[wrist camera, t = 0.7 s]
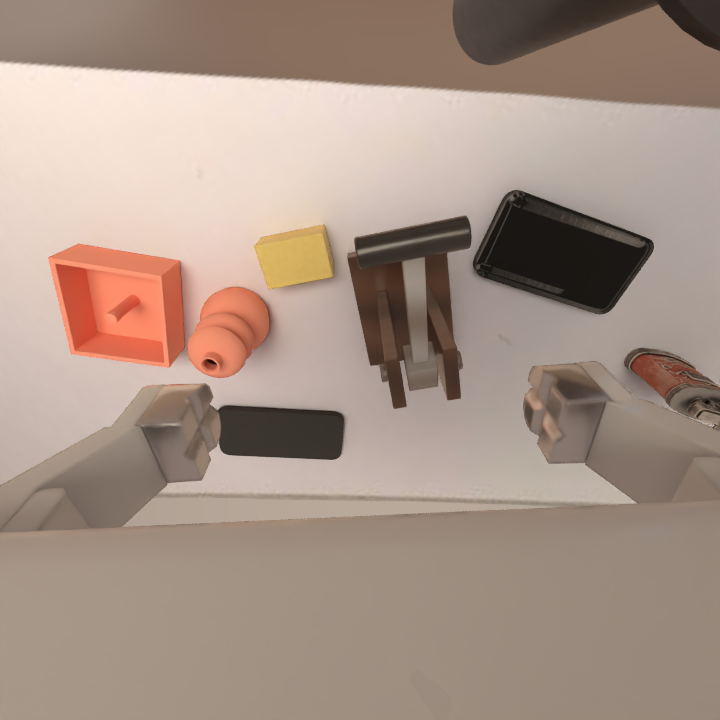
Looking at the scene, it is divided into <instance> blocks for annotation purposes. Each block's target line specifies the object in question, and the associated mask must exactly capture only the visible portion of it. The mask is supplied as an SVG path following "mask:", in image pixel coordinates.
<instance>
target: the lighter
mask: <svg viewBox="0 0 720 720" xmlns="http://www.w3.org/2000/svg"><path fill="white" fill-rule="evenodd" d="M624 363H625V366H626V367H627V368H628V369H629V370H630V371H632V372H633V373H635V374H637V375H639V376H640V377H641V378H642V379H643V380H645V381H646V382H647V383H648V384H649V385H650V386H651V387H652V388H654V389H655V390H656V391H657V392H658V393H659V394H660V395H661V396H662V397H664V398H665V400H666V403H667V404H668V405H669V406H670V407H671V408H673V409H674V410H676V411H678V412H680V413H681V414H683V415H686V416H689V417H691V418H694V419H697V420H702V421H706V422H710V423H713V424H714V425H716V426H718V427H720V387H718V385H717V384H715V383H714V382H713V381H711V380H710V379H709V378H707V377H705V376H703V375H702V374H700V373H699V372H698V371H696V368H695V367H694V366H693V365H691V364H690V363H689V362H687V361H685V360H684V359H682V358H680V357H678V356H676V355H673V354H671V353H668V352H664V351H660V350H655V349H645V348H638V349H636V350H634V351H632V352H631V353H630V354H629V355H628V356H627V357H626V359H625V362H624Z"/></svg>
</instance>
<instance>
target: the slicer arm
mask: <svg viewBox="0 0 720 720" xmlns="http://www.w3.org/2000/svg"><path fill="white" fill-rule="evenodd" d="M354 243H355V250H356V255H357V260H358V265H359V268H360V269H365V268H370V267H376V266H381V265H386V264H391V263H396V262H402V270H403V280H404V289H405V299H406V309H407V318H408V328H409V337H410V345H405V346H402V349H403V356H404V363H405V369H406V375H407V380H408V385H409V390H410V391H412V390H419V389H425V388H431V387H437V386H438V365H437V361H436V357H435V353H434V348H433V344H432V341H429V342H428V332H427V305H426V277H425V257H428V256H433V255H438V254H443V253H448V252H454V251H459V250H464V249H468V248H470V246H471V228H470V223H469V220H468V218H467V216H460V217H455V218H450V219H445V220H440V221H435V222H430V223H425V224H420V225H415V226H410V227H405V228H400V229H395V230H390V231H385V232H380V233H375V234H370V235H365V236H360V237H356V238H355V239H354Z"/></svg>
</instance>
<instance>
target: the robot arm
mask: <svg viewBox="0 0 720 720" xmlns="http://www.w3.org/2000/svg"><path fill="white" fill-rule="evenodd" d="M528 381H529V383H530V384H531V386H532V388H531V389H530V390H529V391H528V392H527V393H526V394H525V398H524V404H523V409H524V417H525V421H526V424H527V426H528V427H529V429H530V431H531V432H533V433H535V434H536V435H538V436H539V439H538V443H537V444H538V446H539V447H540V449H541V451H542V453H543V454H544V456H545V458H546V460H547V462H548V463H549V464H559V463H586V464H585V465H587V466H588V467H589V468H591V469H592V470H593V471H595V472H596V473H597V474H599V475H600V476H601V477H603V478H604V479H605V480H607V481H608V482H610V483H611V484H612V485H614V486H615V487H616V488H618V489H619V490H620V491H622V492H623V493H624V494H626V495H627V496H629V497H630V498H631V499H633V500H634V501H635V502H637V503H638V504H618V505H598V506H577V507H554V508H532V509H509V510H487V511H462V512H441V513H417V514H396V515H374V516H354V517H331V518H310V519H288V520H267V521H244V522H223V523H200V524H178V525H156V526H134V527H122V526H123V525H124V524H125V523H126V522H127V521H129V520H130V519H131V518H132V517H133V516H134V515H135V514H136V513H137V512H138V511H139V510H140V509H141V508H143V507H144V506H145V505H146V504H147V503H148V502H149V501H150V500H151V499H152V498H154V497H155V496H156V495H157V494H158V493H159V492H160V491H161V490H162V489H163V488H164V487H165V486H167V483H173V482H186V481H199V480H202V479H203V477H204V475H205V472H206V470H207V468H208V465H209V463H210V461H211V458H210V456H209V452H210V451H211V450H213V449H214V448H215V447H217V444H218V441H219V439H220V433H221V422H220V416H219V413H218V411H217V410H216V409H215V408H214V407H213V406H211V405H210V403H211V401H212V399H213V395H212V392H211V389H210V387H209V386H208V385H207V384H205V383H203V384H173V385H151V386H146V387H143V388H142V389H141V391H140V392H139V393H138V394H137V395H136V397H135V398H134V399H133V400H132V402H131V403H130V404H129V405H128V407H127V408H126V409H125V410H124V412H123V413H122V414H121V415H120V417H119V418H118V419H117V420H116V422H115V423H114V424H113V425H112V427H105V428H103V429H101V430H99V431H98V432H96V433H94V434H92V435H90V436H89V437H87V438H85V439H83V440H81V441H80V442H78V443H76V444H74V445H72V446H71V447H69V448H67V449H65V450H63V451H62V452H60V453H58V454H56V455H54V456H53V457H51V458H49V459H47V460H45V461H44V462H42V463H40V464H38V465H36V466H35V467H33V468H31V469H29V470H27V471H26V472H24V473H22V474H20V475H18V476H17V477H15V478H13V479H11V480H9V481H8V482H6V483H4V484H2V485H0V720H720V431H718V430H716V429H714V428H711V427H709V426H706V425H704V424H702V423H699V422H697V421H694V420H692V419H690V418H687V417H685V416H682V415H680V414H678V413H675V412H673V411H670V410H668V409H666V408H663V407H661V406H658V405H656V404H654V403H651V402H649V401H646V400H637V399H636V398H635V397H634V396H633V395H632V394H631V393H630V392H629V391H628V390H627V389H626V388H625V387H624V386H623V385H622V384H621V383H620V382H619V381H618V380H617V379H616V378H615V377H614V376H613V375H612V374H611V373H610V372H609V371H608V370H607V369H606V368H605V367H604V366H603V365H602V364H601V363H599V362H596V361H591V362H580V363H572V364H558V365H544V366H533V367H532V369H531V371H530V373H529V378H528Z"/></svg>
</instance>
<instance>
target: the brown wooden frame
mask: <svg viewBox="0 0 720 720" xmlns="http://www.w3.org/2000/svg"><path fill="white" fill-rule="evenodd" d="M348 262H349V267H350V272H351V277H352V281H353V286H354V291H355V295H356V300H357V305H358V309H359V314H360V319H361V324H362V328H363V333H364V338H365V342H366V347H367V352H368V356H369V361H370V365H371V366H372V365H378V364H380V372H381V378H382V382H387V381H389V387H390V392H391V397H392V402H393V408H394V409H396V408H403V407H406V406H407V404H406V398H405V392H404V386H403V380H402V374H401V368H400V362H399V361H402V360H404V356H403V349H402V346H405V345H410V337H409V328H408V318H407V309H406V299H405V289H404V280H403V270H402V262H396V263H391V264H386V265H381V266H376V267H370V268H365V269H360V268H359V265H358V260H357V255H356V252H353V253H348ZM425 277H426V305H427V332H428V342H429V341H432V344H433V348H434V353H435V357H436V361H437V365H438V373H439V376H440V379H441V382H442V385H443V388H444V391H445V394H446V397H447V400H454V399H460V398H461V393H460V379H459V369H462V368H463V363H462V357H461V354H460V351H457V346H456V344H455V342H454V338H453V325H452V312H451V299H450V286H449V273H448V261H447V253H443V254H438V255H433V256H428V257H425Z"/></svg>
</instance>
